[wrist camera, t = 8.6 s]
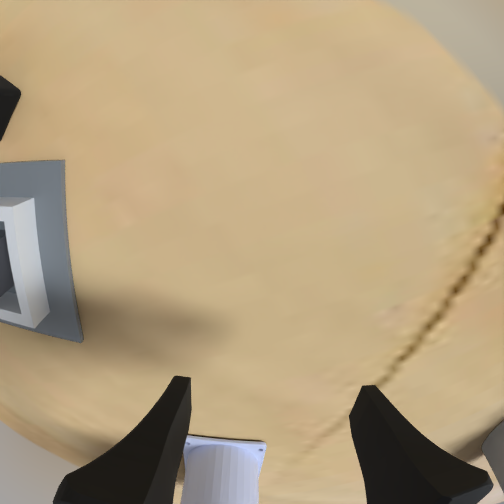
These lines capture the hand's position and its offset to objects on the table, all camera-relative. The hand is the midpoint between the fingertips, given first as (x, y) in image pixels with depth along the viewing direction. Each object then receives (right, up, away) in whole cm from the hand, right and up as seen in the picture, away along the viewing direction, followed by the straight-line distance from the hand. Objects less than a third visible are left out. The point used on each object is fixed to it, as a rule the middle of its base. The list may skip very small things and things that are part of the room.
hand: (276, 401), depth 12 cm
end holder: (-21, +6, +8) cm, 23 cm away
